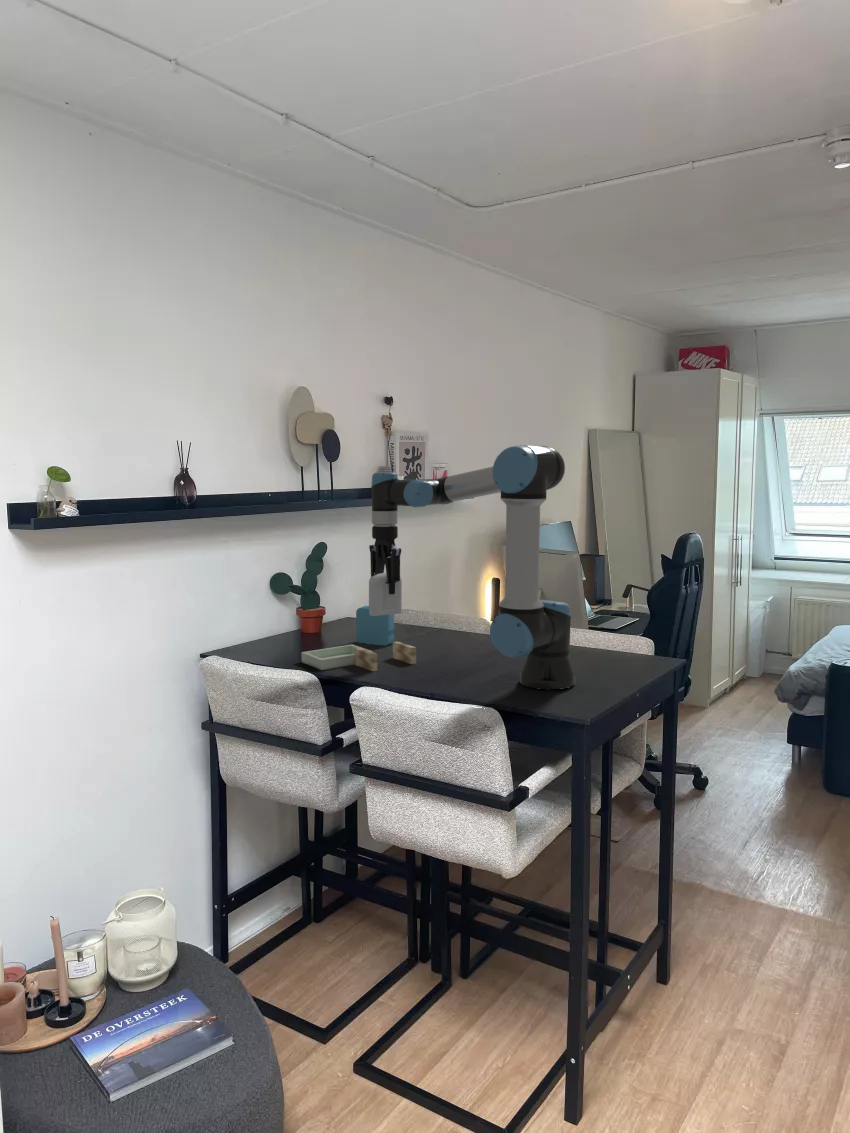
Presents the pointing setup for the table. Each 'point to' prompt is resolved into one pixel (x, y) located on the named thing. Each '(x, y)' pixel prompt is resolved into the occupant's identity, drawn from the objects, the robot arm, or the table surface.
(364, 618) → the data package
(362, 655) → the pair of tan blocks
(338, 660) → the tray
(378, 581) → the grey rounded slab
